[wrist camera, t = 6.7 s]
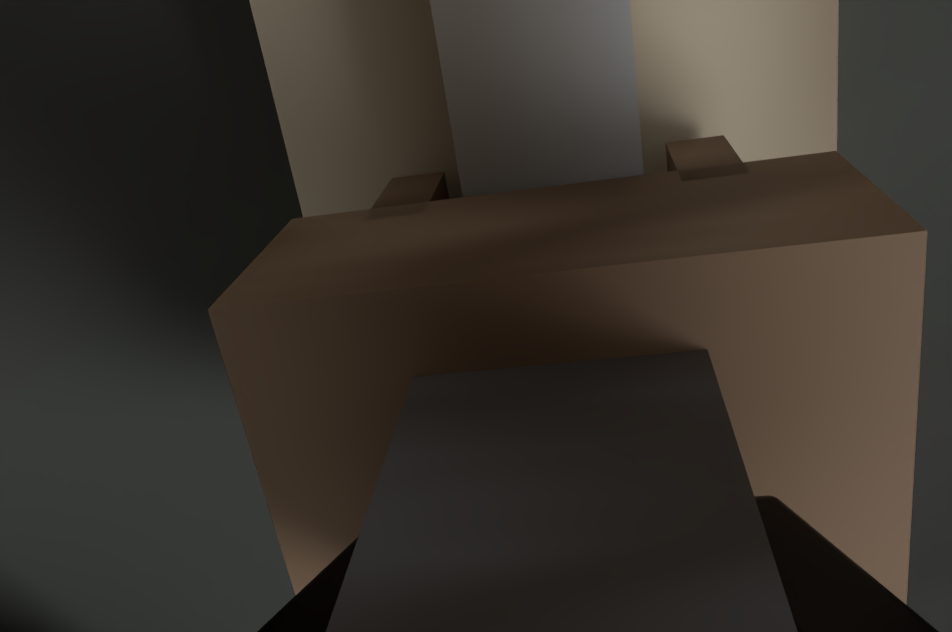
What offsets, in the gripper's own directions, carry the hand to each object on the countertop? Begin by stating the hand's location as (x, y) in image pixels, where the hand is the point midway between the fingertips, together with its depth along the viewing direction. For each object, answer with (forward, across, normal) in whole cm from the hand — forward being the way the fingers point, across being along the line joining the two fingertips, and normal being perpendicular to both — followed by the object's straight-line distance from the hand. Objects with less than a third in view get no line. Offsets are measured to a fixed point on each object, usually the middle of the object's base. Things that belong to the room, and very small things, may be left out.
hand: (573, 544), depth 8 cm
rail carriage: (+5, 0, 0) cm, 5 cm away
